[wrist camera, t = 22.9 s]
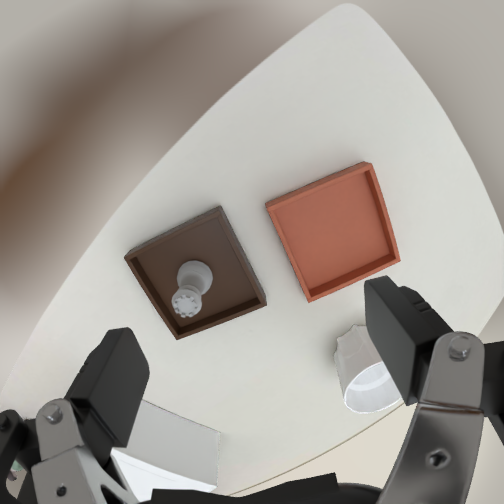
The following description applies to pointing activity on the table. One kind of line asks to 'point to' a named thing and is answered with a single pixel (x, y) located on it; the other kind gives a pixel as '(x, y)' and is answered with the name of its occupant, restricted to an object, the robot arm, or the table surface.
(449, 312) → the table surface
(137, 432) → the white box
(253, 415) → the table surface
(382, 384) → the cup
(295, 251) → the terracotta tray
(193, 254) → the walnut tray
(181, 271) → the rook chess piece
